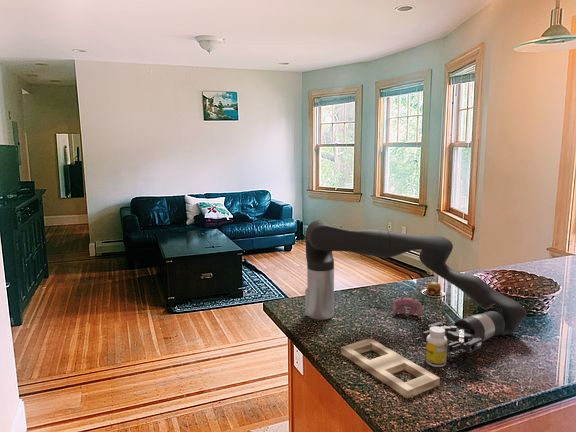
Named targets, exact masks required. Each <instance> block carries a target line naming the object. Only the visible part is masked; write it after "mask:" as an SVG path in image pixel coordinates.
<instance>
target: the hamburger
mask: <svg viewBox="0 0 576 432" xmlns="http://www.w3.org/2000/svg"><path fill="white" fill-rule="evenodd" d="M426 290H427V291H426ZM424 291H425V292H426V293H427V294H428V295H427V294H425V292H424ZM423 292H424V293H423ZM421 294H423V295H424V296H426V295H427V297H430V298H436V297H438V298H441V297H443V296H444V297H445V295H446V292H445V291H443V290H442V286H441V284H440V283H439V282H437V281H430V282H428V283H427V286H426V288H425V289H422V290H421ZM429 294H430V295H429ZM441 294H442V295H441ZM432 295H434V296H432ZM437 295H438V296H437ZM439 295H441V296H439Z"/></svg>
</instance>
